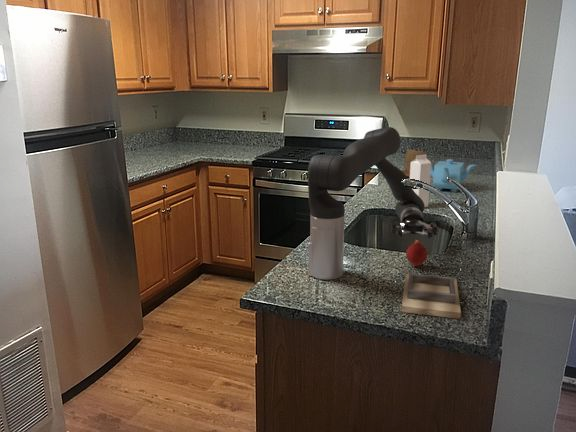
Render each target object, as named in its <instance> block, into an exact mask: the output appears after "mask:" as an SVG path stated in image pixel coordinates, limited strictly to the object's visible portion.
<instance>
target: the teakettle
mask: <svg viewBox="0 0 576 432" xmlns="http://www.w3.org/2000/svg"><path fill="white" fill-rule="evenodd" d="M476 166H478V164H469V165H468V166H467V168H466V169H465V162H460V161H454V159H451V158H450V159H449V158H448V159H445V160H439V161H438V162H437V163H435V164H434V168H433V164H432V163H431V174H430V177H431V178H433V180H432V181H433V182H432V187H433V186H434V187H436V188H435V189H437V188H438V189H439V190H441V192H442V190H443V189H445V190H447V189H449V190H450V192H451V193H458V190H460V188H459V189H458V188H457V187H456V186H454V185H453V184H452V183H450V182H448V181H447V177H449V178H451V179H453V180H455V181H456V182H457V183H459V184H461V186H462V185H463V181H465V180H466V179H467V178H468V176H469V174H470V172H471V170H472V169H473V168H474V167H476ZM464 169H465V170H464Z"/></svg>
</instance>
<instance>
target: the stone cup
mask: <svg viewBox="0 0 576 432" xmlns="http://www.w3.org/2000/svg"><path fill="white" fill-rule="evenodd" d="M425 154H426V152H425V151H423V150H421V151H420V150H413V149H407V151H406V152H405V165H406V166H405V169H403V170H401V169H400V170H401V171H402V172H403V173H404V174H405V175H406V176H407V178H410V164H411V162H412V161H413V160H415V159H416V156H417V155H425Z"/></svg>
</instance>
